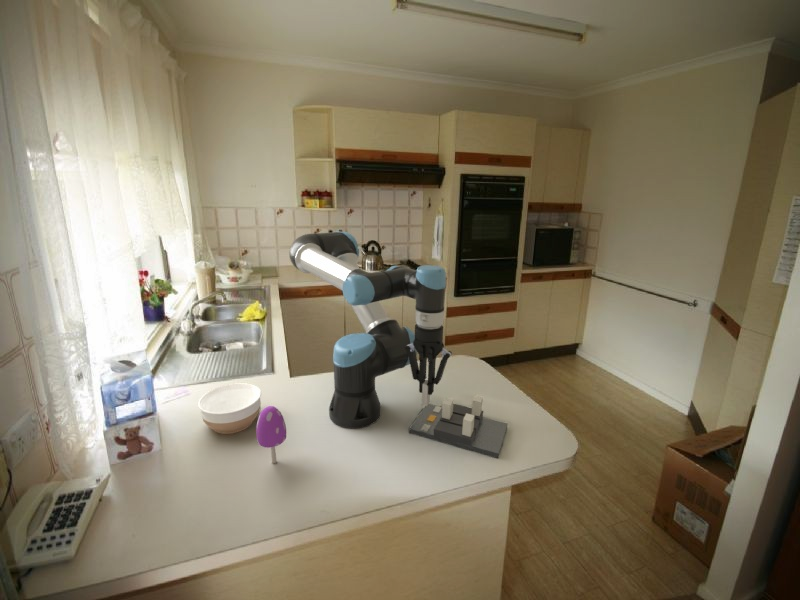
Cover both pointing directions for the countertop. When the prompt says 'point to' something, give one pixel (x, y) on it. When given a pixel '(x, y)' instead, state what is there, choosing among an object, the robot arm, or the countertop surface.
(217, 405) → the bowl
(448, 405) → the handle
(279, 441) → the toy
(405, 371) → the countertop surface
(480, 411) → the breaker housings
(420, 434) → the panel
